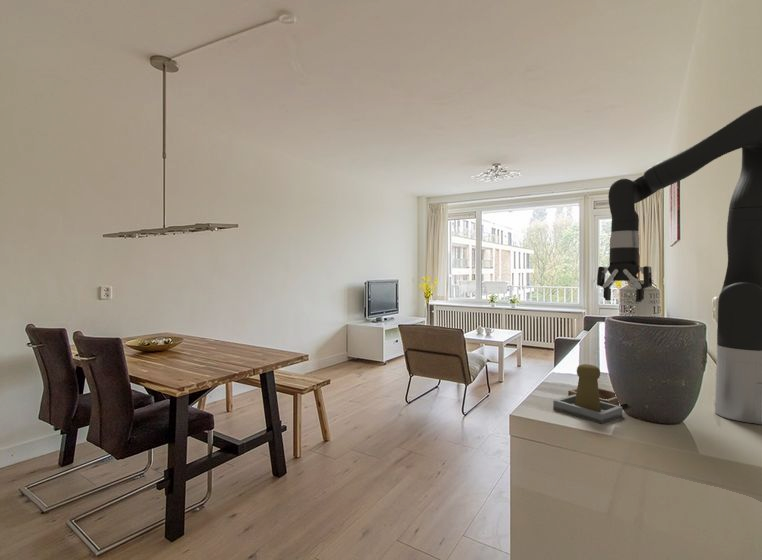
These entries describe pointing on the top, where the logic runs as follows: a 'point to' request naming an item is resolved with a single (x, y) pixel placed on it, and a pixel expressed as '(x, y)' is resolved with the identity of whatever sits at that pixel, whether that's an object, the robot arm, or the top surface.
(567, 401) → the tray
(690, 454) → the top surface
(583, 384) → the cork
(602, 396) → the socket block
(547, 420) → the top surface
